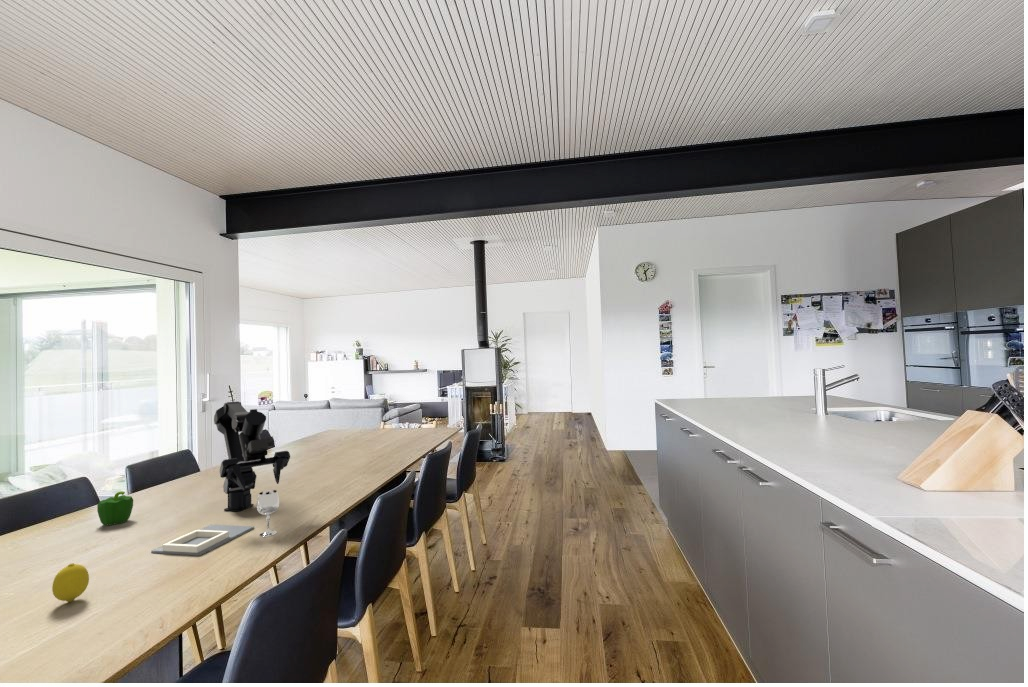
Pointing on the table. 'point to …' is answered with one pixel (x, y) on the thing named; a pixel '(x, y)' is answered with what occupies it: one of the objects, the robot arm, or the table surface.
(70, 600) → the lemon
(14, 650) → the table surface
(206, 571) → the table surface
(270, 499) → the wineglass
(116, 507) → the bell pepper
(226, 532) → the square frame board
